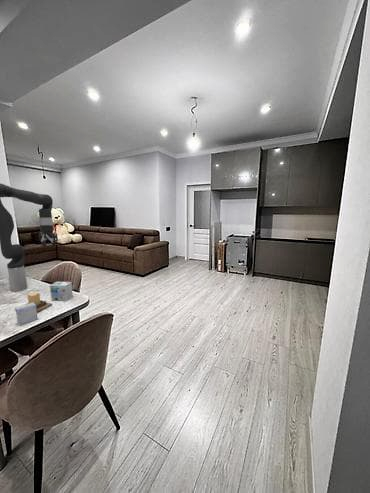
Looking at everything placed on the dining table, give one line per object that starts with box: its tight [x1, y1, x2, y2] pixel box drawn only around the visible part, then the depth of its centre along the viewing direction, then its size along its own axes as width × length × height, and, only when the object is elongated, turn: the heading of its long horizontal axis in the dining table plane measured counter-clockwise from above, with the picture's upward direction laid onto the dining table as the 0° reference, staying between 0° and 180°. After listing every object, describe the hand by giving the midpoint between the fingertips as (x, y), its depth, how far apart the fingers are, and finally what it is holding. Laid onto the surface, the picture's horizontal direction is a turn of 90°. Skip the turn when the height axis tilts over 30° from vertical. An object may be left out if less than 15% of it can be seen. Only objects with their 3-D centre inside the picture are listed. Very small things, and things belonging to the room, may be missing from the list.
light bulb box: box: [49, 281, 74, 302], centre depth 131 cm, size 11×7×11 cm, turn 88°
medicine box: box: [14, 303, 38, 326], centre depth 105 cm, size 8×4×9 cm, turn 141°
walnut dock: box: [24, 299, 53, 314], centre depth 118 cm, size 12×12×3 cm
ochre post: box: [27, 291, 41, 305], centre depth 118 cm, size 4×4×8 cm
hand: (49, 247), depth 139 cm, fingers open, 8 cm apart
